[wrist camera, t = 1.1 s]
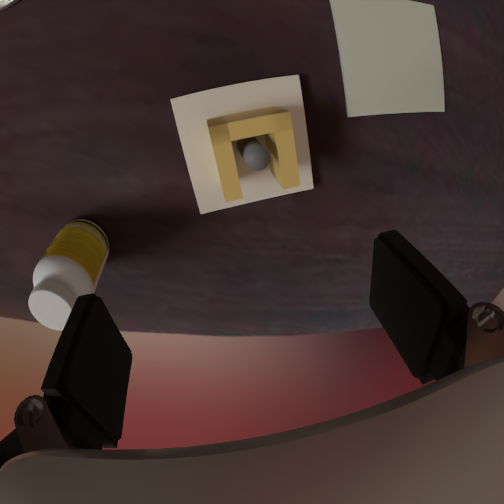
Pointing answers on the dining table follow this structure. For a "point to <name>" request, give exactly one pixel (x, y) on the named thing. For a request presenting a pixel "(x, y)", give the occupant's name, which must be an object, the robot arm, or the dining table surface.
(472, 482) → the robot arm
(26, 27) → the dining table surface
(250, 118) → the c link
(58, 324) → the pill bottle
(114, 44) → the dining table surface
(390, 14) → the mat
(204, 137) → the stand
